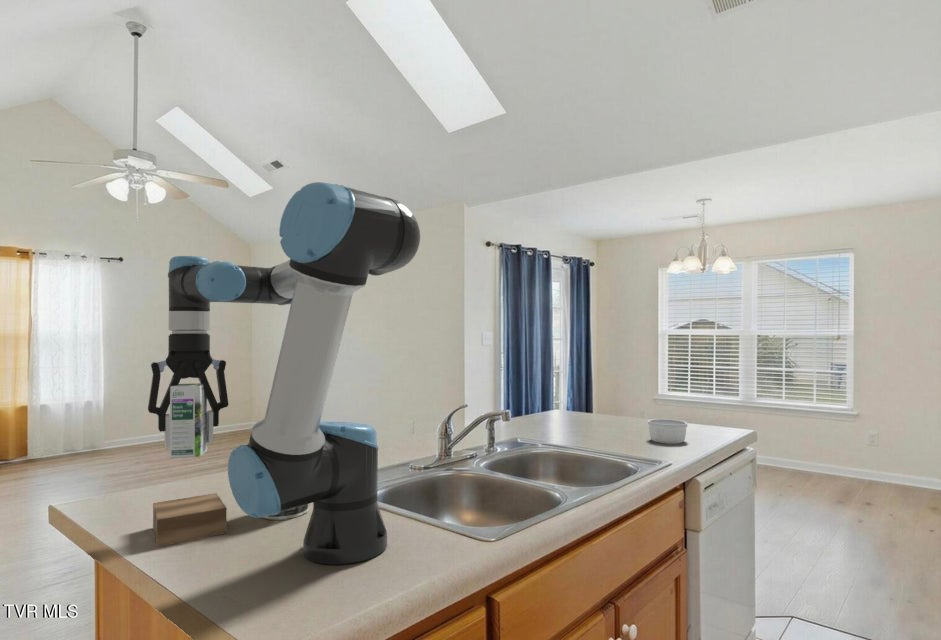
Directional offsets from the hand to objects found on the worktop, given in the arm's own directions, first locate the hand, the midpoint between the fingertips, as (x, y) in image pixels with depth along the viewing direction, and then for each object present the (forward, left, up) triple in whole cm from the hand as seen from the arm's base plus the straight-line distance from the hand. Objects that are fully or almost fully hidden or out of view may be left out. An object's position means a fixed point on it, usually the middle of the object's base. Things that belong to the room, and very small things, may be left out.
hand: (189, 444), depth 111 cm
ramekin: (-1, -153, -18) cm, 154 cm away
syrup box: (0, 0, -2) cm, 2 cm away
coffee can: (0, -19, -17) cm, 26 cm away
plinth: (0, 0, -17) cm, 17 cm away
